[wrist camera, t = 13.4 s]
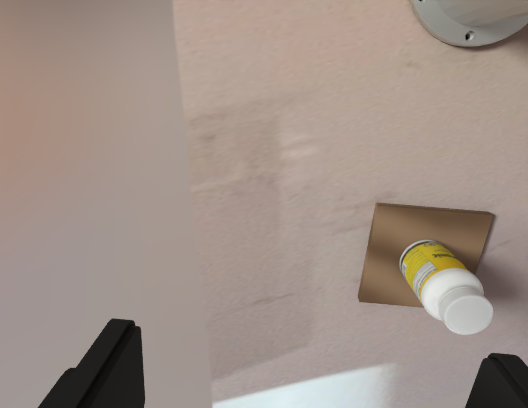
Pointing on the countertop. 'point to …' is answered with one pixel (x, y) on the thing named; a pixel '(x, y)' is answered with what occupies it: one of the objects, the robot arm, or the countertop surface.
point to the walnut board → (408, 232)
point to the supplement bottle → (446, 287)
